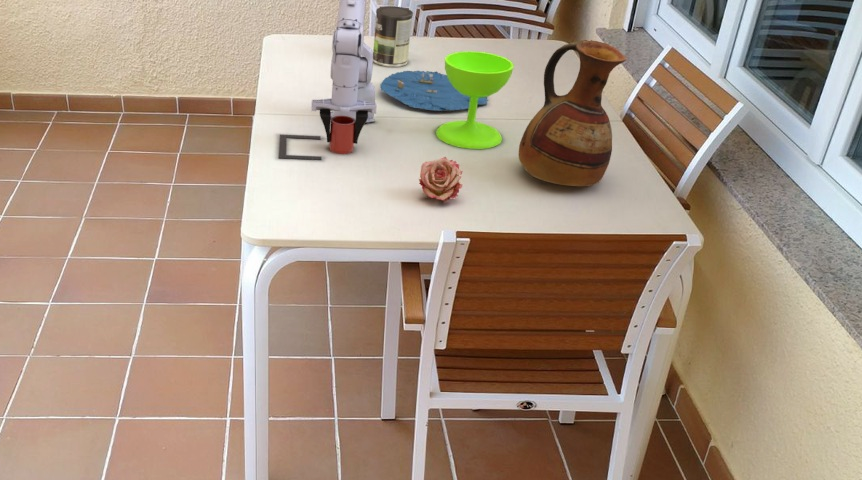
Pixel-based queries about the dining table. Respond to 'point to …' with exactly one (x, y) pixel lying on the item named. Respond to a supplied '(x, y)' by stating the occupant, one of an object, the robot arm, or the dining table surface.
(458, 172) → the flower
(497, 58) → the wineglass
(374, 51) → the coffee can
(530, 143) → the ceramic pitcher
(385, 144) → the dining table surface
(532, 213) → the dining table surface
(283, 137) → the tape bay
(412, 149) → the dining table surface
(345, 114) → the robot arm
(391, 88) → the decorative plate
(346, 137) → the tumbler
